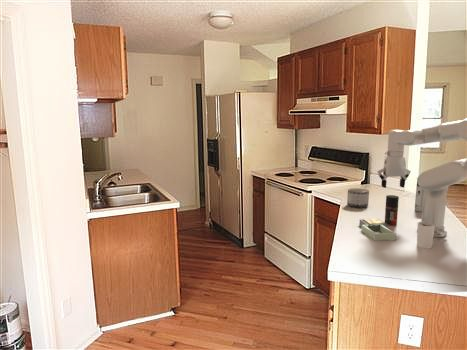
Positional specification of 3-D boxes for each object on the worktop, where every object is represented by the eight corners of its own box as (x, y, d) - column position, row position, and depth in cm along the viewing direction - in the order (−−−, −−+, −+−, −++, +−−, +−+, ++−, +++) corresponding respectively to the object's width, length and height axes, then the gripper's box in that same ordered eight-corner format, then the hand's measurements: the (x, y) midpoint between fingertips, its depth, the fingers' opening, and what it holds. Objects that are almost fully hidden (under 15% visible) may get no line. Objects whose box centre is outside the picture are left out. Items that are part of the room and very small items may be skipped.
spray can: (415, 208, 215) (418, 176, 212) (428, 210, 211) (431, 177, 208) (413, 210, 210) (415, 178, 207) (425, 212, 206) (428, 179, 203)
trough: (395, 239, 161) (396, 233, 161) (374, 240, 160) (375, 234, 160) (380, 230, 175) (381, 224, 174) (361, 230, 174) (361, 224, 174)
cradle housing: (387, 230, 174) (387, 224, 174) (368, 231, 173) (368, 225, 173) (377, 224, 184) (378, 219, 184) (359, 225, 183) (359, 219, 183)
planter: (368, 209, 215) (369, 192, 213) (346, 207, 219) (347, 191, 217) (367, 204, 226) (368, 188, 225) (347, 203, 230) (348, 187, 229)
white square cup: (413, 246, 153) (415, 224, 151) (418, 242, 158) (420, 220, 156) (430, 250, 148) (432, 227, 147) (435, 246, 153) (437, 224, 151)
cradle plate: (383, 225, 175) (384, 223, 175) (369, 226, 174) (369, 223, 174) (376, 221, 182) (377, 218, 182) (363, 222, 182) (363, 219, 181)
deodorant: (393, 222, 188) (395, 195, 185) (398, 225, 182) (400, 197, 179) (382, 222, 187) (384, 195, 185) (387, 225, 182) (389, 197, 179)
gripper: (382, 155, 174) (380, 188, 177) (415, 154, 176) (413, 188, 178) (375, 153, 182) (373, 186, 185) (407, 153, 183) (404, 185, 186)
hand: (392, 187), depth 181 cm, fingers open, 9 cm apart
